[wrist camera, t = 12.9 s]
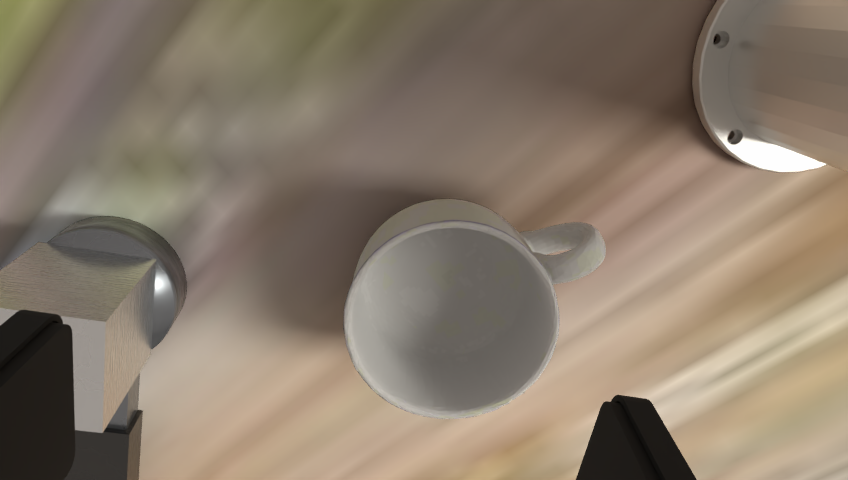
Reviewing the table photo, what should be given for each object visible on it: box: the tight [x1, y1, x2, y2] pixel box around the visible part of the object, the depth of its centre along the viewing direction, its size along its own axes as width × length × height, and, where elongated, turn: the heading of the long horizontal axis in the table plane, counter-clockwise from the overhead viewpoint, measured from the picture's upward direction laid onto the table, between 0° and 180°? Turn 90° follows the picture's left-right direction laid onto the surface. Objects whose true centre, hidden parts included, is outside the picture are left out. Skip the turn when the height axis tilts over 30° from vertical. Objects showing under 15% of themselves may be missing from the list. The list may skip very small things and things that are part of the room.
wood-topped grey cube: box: [0, 242, 156, 433], centre depth 31 cm, size 6×6×7 cm
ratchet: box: [47, 216, 187, 480], centre depth 37 cm, size 21×8×6 cm, turn 168°
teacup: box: [343, 199, 606, 419], centre depth 34 cm, size 14×11×8 cm
